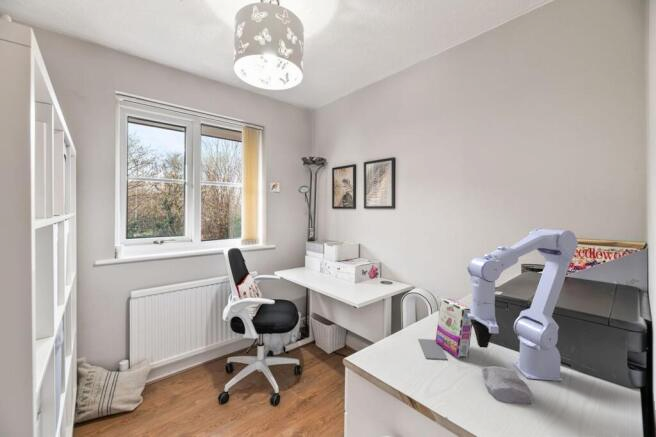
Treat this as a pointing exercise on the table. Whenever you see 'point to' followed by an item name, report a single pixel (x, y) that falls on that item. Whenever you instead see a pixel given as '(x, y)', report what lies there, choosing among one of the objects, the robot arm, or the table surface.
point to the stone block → (506, 385)
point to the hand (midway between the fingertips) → (482, 346)
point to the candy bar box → (454, 328)
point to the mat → (432, 349)
